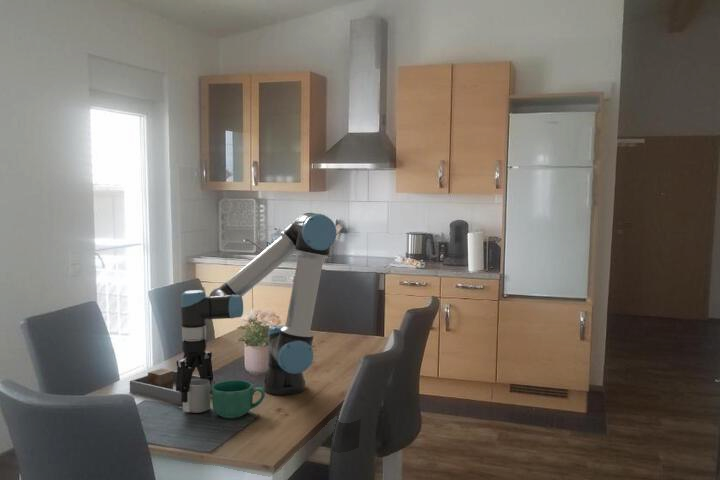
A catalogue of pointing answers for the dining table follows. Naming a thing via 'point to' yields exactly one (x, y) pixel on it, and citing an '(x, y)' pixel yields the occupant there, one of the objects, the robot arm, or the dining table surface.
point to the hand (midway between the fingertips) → (195, 407)
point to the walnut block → (161, 378)
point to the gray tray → (160, 389)
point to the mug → (234, 398)
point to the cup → (199, 395)
